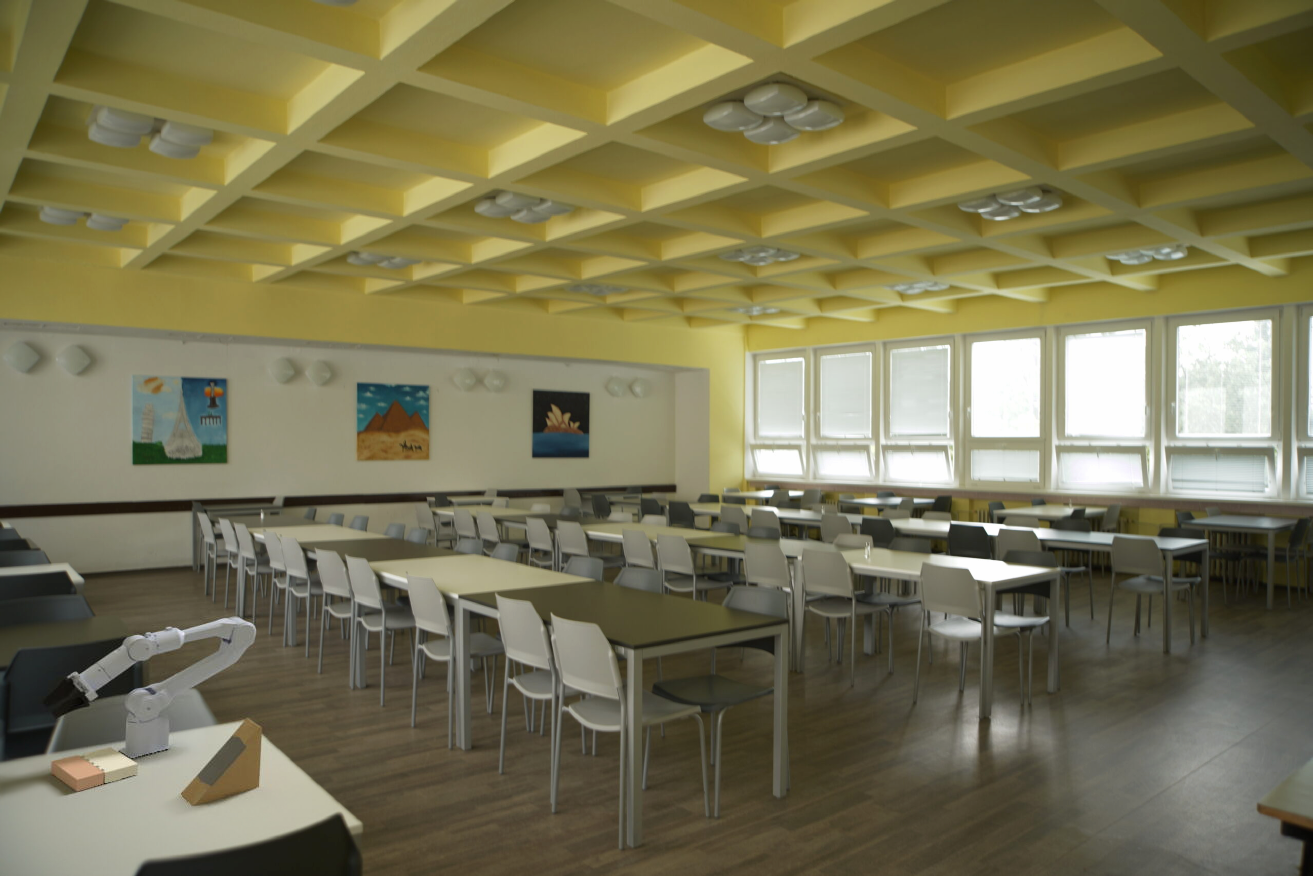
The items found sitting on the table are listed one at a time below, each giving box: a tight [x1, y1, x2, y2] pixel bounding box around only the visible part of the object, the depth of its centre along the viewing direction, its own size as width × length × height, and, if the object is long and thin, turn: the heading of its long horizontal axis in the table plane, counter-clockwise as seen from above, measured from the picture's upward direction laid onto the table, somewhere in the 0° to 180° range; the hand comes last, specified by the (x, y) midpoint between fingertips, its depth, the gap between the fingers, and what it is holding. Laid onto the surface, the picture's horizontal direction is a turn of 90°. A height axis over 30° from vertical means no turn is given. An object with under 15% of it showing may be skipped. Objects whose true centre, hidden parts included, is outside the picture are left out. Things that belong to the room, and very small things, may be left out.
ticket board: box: [78, 747, 139, 784], centre depth 209 cm, size 7×16×3 cm, turn 54°
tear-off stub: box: [50, 754, 104, 792], centre depth 204 cm, size 6×16×3 cm, turn 54°
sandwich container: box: [180, 717, 263, 807], centre depth 201 cm, size 9×15×15 cm, turn 138°
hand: (48, 709), depth 206 cm, fingers open, 7 cm apart
